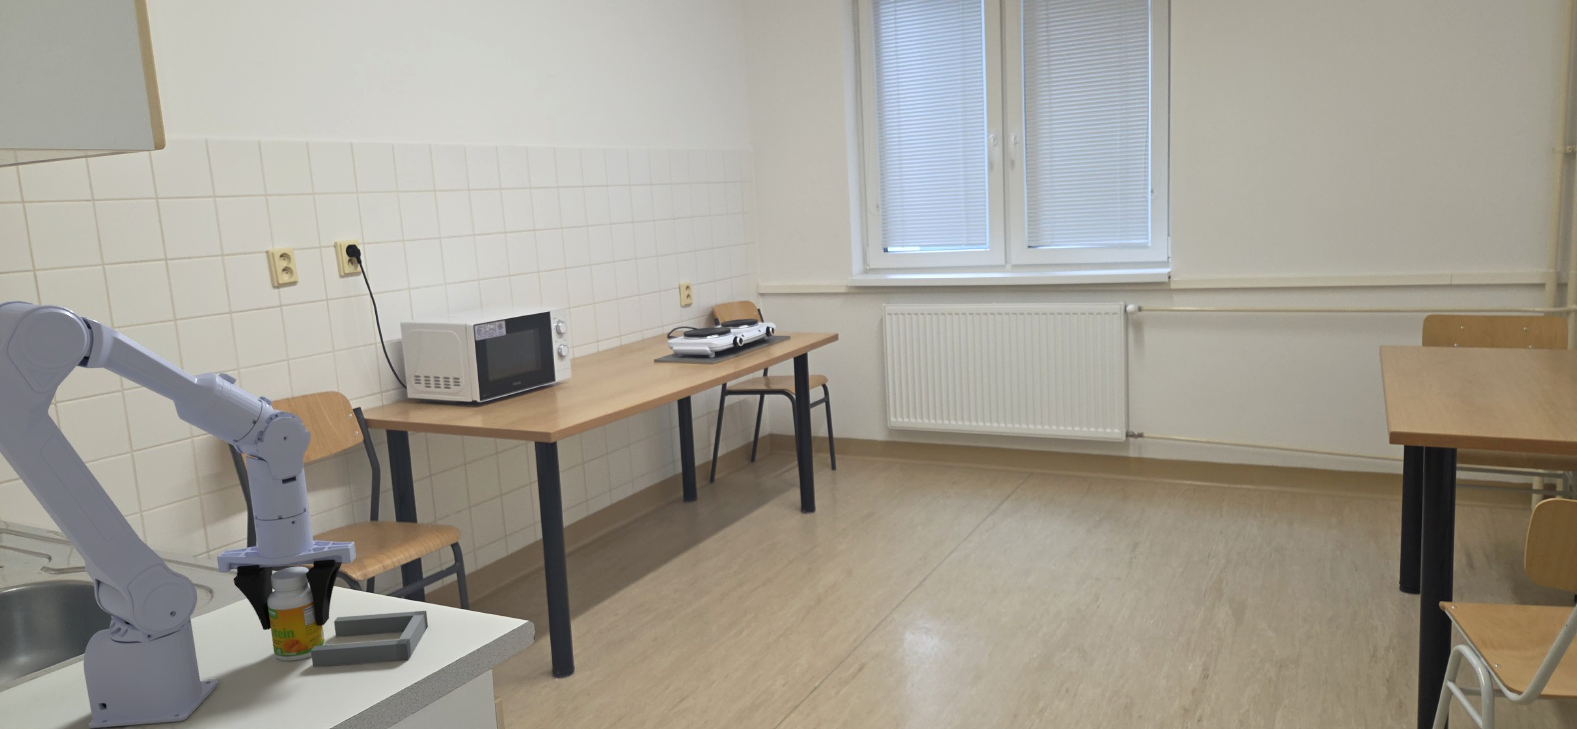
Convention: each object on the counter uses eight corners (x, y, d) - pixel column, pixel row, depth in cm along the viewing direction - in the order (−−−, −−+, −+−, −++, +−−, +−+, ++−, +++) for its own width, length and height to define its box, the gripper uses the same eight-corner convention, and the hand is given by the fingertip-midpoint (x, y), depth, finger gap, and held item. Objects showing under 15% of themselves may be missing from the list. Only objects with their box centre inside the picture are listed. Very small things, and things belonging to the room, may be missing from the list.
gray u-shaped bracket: (313, 667, 116) (310, 650, 116) (339, 632, 125) (337, 617, 125) (408, 659, 117) (406, 643, 117) (427, 626, 126) (426, 610, 126)
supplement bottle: (263, 659, 119) (252, 580, 117) (298, 639, 124) (287, 562, 122) (302, 664, 117) (291, 583, 115) (335, 643, 122) (325, 566, 120)
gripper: (358, 497, 122) (371, 605, 124) (230, 505, 121) (246, 614, 123) (338, 516, 115) (352, 630, 117) (202, 525, 114) (219, 640, 116)
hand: (296, 624), depth 120 cm, fingers closed on supplement bottle, 5 cm apart
